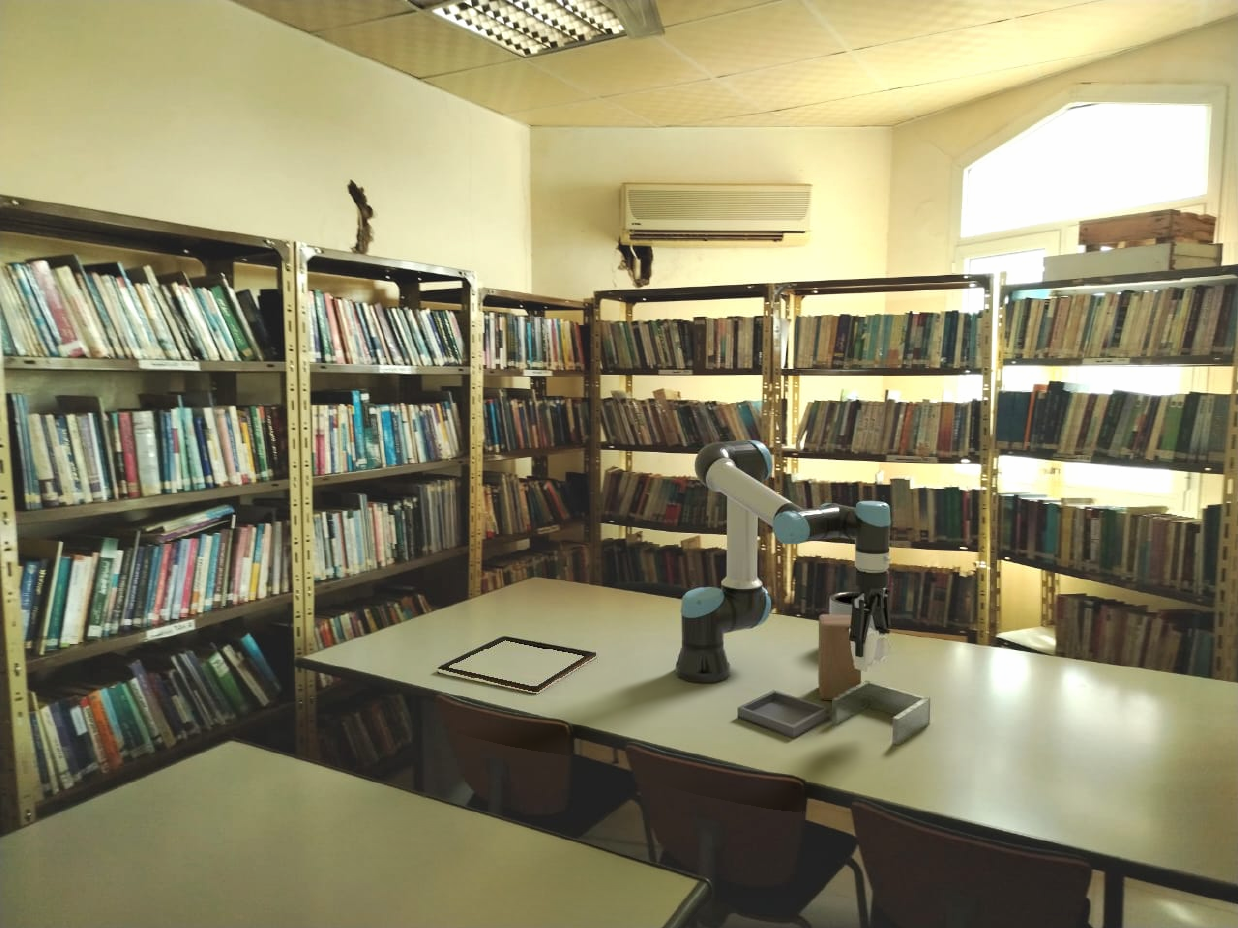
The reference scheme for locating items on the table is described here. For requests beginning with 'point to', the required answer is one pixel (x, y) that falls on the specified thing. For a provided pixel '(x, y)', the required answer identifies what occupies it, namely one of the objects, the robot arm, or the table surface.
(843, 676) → the wooden block
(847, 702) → the bay
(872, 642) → the cup
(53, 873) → the table surface
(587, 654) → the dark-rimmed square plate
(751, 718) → the tray
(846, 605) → the planter
